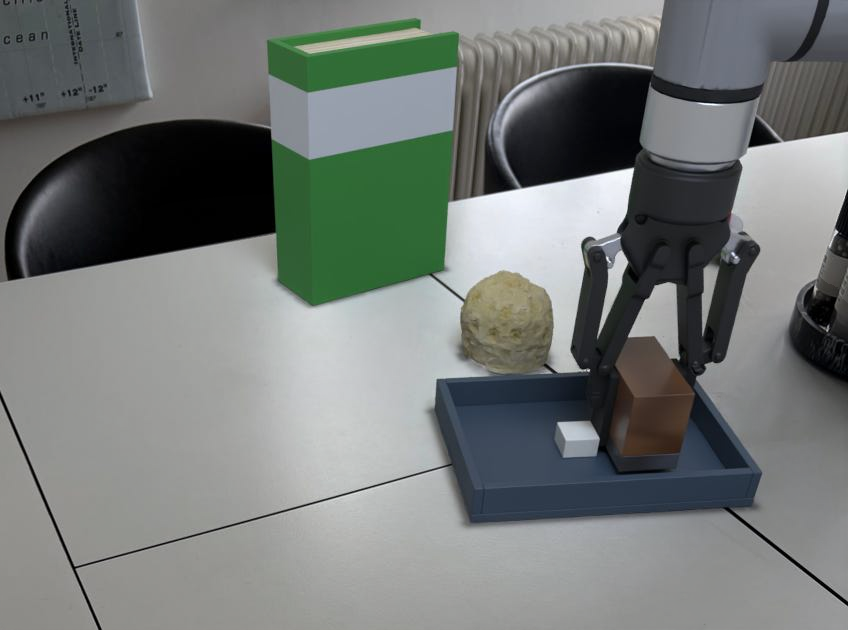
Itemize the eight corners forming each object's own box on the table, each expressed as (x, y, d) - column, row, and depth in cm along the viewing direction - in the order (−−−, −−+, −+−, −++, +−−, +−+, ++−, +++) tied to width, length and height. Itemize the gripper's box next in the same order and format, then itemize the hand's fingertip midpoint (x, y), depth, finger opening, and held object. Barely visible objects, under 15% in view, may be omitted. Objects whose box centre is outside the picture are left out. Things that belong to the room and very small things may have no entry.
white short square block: (587, 438, 91) (590, 420, 90) (596, 456, 89) (600, 438, 88) (553, 439, 91) (556, 421, 90) (562, 458, 89) (565, 440, 88)
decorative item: (547, 396, 106) (583, 300, 104) (516, 374, 97) (555, 269, 95) (465, 372, 110) (499, 278, 108) (429, 348, 101) (465, 246, 99)
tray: (679, 398, 98) (687, 366, 96) (752, 506, 86) (763, 472, 83) (434, 410, 96) (436, 378, 94) (470, 523, 83) (474, 489, 81)
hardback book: (406, 247, 124) (415, 17, 107) (444, 269, 119) (459, 33, 103) (278, 281, 116) (266, 39, 100) (312, 305, 112) (306, 57, 96)
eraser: (639, 407, 94) (654, 335, 89) (676, 468, 87) (695, 393, 82) (585, 410, 94) (598, 338, 89) (618, 472, 86) (634, 396, 82)
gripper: (789, 134, 78) (714, 409, 94) (554, 139, 76) (518, 418, 92) (833, 168, 72) (746, 454, 88) (582, 175, 71) (538, 465, 86)
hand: (629, 435), depth 90 cm, fingers closed on eraser, 5 cm apart
